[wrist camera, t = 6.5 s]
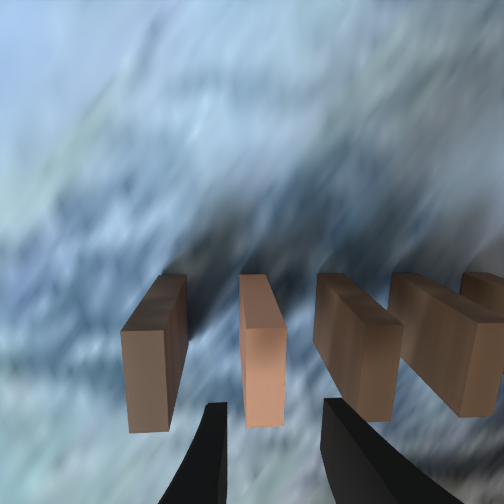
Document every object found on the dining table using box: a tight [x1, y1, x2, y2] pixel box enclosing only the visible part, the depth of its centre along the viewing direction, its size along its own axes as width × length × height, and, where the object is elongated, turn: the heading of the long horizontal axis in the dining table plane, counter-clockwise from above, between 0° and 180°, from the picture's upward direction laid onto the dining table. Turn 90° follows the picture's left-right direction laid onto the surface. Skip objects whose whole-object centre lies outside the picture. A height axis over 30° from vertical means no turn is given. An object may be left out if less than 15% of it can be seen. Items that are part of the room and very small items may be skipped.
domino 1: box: [120, 275, 189, 433], centre depth 16 cm, size 2×5×7 cm, turn 179°
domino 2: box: [313, 274, 404, 422], centre depth 17 cm, size 2×5×7 cm, turn 179°
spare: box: [239, 274, 287, 428], centre depth 16 cm, size 2×5×7 cm, turn 0°
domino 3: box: [387, 273, 504, 418], centre depth 17 cm, size 2×5×7 cm, turn 179°
